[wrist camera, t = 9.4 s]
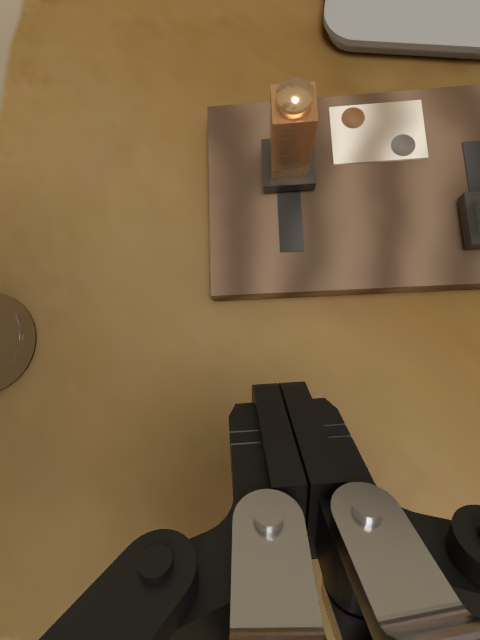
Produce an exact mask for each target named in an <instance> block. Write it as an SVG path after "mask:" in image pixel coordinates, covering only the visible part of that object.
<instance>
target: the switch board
mask: <svg viewBox="0 0 480 640" xmlns="http://www.w3.org/2000/svg"><path fill="white" fill-rule="evenodd" d="M317 111H318V125H317V130H316V135H315V140H314V156H315V171H316V187H315V189H314V190H298V191H283V192H267V193H263V172H262V149H261V139H270V102H261V103H248V104H236V105H224V106H212V107H208V159H209V219H210V280H211V297H212V298H213V300H214V301H225V300H247V299H269V298H291V297H313V296H336V295H358V294H380V293H402V292H424V291H446V290H468V289H480V248H476V249H465V247H464V240H463V232H462V225H461V218H460V211H459V204H458V198H459V197H460V196H461V195H462V194H463V193H464V192H477V191H480V85H468V86H456V87H444V88H432V89H419V90H407V91H395V92H383V93H371V94H358V95H346V96H334V97H322V98H317Z"/></svg>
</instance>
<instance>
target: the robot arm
mask: <svg viewBox="0 0 480 640" xmlns="http://www.w3.org/2000/svg"><path fill="white" fill-rule="evenodd" d="M35 341H36V340H35V328H34V324H33V320H32V318H31V316H30V314H29V313H28V311H27V310H26V309H25V308H24V306H23V305H22V304H20V303H19V302H18V301H16V300H15V299H13V298H10V297H8V296H6V295H3V294H0V390H1V389H3V388H5V387H7V386H9V385H10V384H11V383H13V382H14V381H15V380H17V379H18V377H19V376H20V375H21V374H22V373H23V372H24V371H25V369H26V367H27V366H28V364H29V362H30V360H31V357H32V355H33V352H34V347H35ZM229 430H230V451H231V469H232V484H233V505H232V507H231V510H230V512H229V513H228V515H227V516H226V518H225V519H224V520H223V521H222V522H221V523H220V524H219V525H217V526H216V527H214V528H213V529H211V530H209V531H207V532H205V533H202V534H200V535H198V536H195V537H193V538H191V539H188V538H187V537H186V536H185V535H183V534H182V533H180V532H178V531H174V530H170V529H159V530H154V531H151V532H148V533H146V534H144V535H142V536H140V537H139V538H137V539H136V540H135V541H133V542H132V543H131V544H130V545H129V546H128V547H127V548H126V549H125V550H124V551H123V552H122V553H121V554H120V556H119V557H118V558H117V559H116V560H115V561H114V562H113V563H112V564H111V565H110V566H109V567H108V568H107V569H106V570H105V571H104V572H103V573H102V574H101V575H100V576H99V577H98V578H97V579H96V581H95V582H94V583H93V584H92V585H91V586H90V587H89V588H88V589H87V590H86V591H85V592H84V593H83V594H82V595H81V596H80V597H79V598H78V599H77V600H76V601H75V602H74V603H73V604H72V606H71V607H70V608H69V609H68V610H67V611H66V612H65V613H64V614H63V615H62V616H61V617H60V618H59V619H58V620H57V621H56V622H55V623H54V624H53V625H52V626H51V627H50V628H49V629H48V631H47V632H46V633H45V634H44V635H43V636H42V637H41V638H40V639H39V640H327V639H326V636H325V632H324V627H323V622H322V616H321V610H320V605H319V599H318V593H317V587H316V582H315V576H314V570H313V564H312V559H318V561H319V564H320V568H321V572H322V576H323V578H322V588H321V591H322V598H323V602H324V605H325V608H326V611H327V614H328V617H329V620H330V623H331V627H332V630H333V633H334V636H335V639H336V640H480V505H466V506H463V507H461V508H459V509H458V510H457V511H456V512H455V513H454V515H453V517H452V520H447V519H443V518H438V517H433V516H428V515H424V514H419V513H415V512H412V511H409V510H406V509H404V508H402V507H401V506H400V505H399V503H398V502H397V501H396V500H395V498H394V497H393V496H392V495H390V494H389V493H388V492H387V491H385V490H383V489H382V488H380V487H378V486H376V484H375V483H374V481H373V479H372V477H371V475H370V473H369V471H368V469H367V467H366V465H365V463H364V461H363V459H362V457H361V455H360V453H359V451H358V449H357V447H356V445H355V443H354V441H353V439H352V437H350V433H349V431H348V429H347V427H346V426H345V424H344V421H343V419H342V417H341V415H340V413H339V411H338V409H337V408H336V407H334V406H333V405H332V404H331V403H330V402H329V401H327V400H326V399H325V398H317V399H312V397H311V395H310V393H309V390H308V388H307V385H306V383H305V382H289V383H279V384H277V383H275V384H259V385H252V403H242V404H235V406H234V408H233V410H232V412H231V413H230V415H229Z"/></svg>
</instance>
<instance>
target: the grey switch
mask: <svg viewBox="0 0 480 640" xmlns="http://www.w3.org/2000/svg"><path fill="white" fill-rule="evenodd" d="M458 204H459V211H460V218H461V225H462V232H463V240H464V247H465V249H476V248H480V191H477V192H464V193H463V194H462V195H461V196H460V197H459V198H458Z"/></svg>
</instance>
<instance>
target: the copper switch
mask: <svg viewBox="0 0 480 640" xmlns="http://www.w3.org/2000/svg"><path fill="white" fill-rule="evenodd" d="M317 125H318V111H317V97H316V84H315V81H310V82H308V81H307V80H306V79H304V78H301V77H291V78H288V79H286V80H284V81H283V82H281V84H274V85H270V139H261V149H262V172H263V193H267V192H283V191H298V190H314V189H315V187H316V171H315V156H314V140H315V135H316V130H317Z"/></svg>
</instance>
